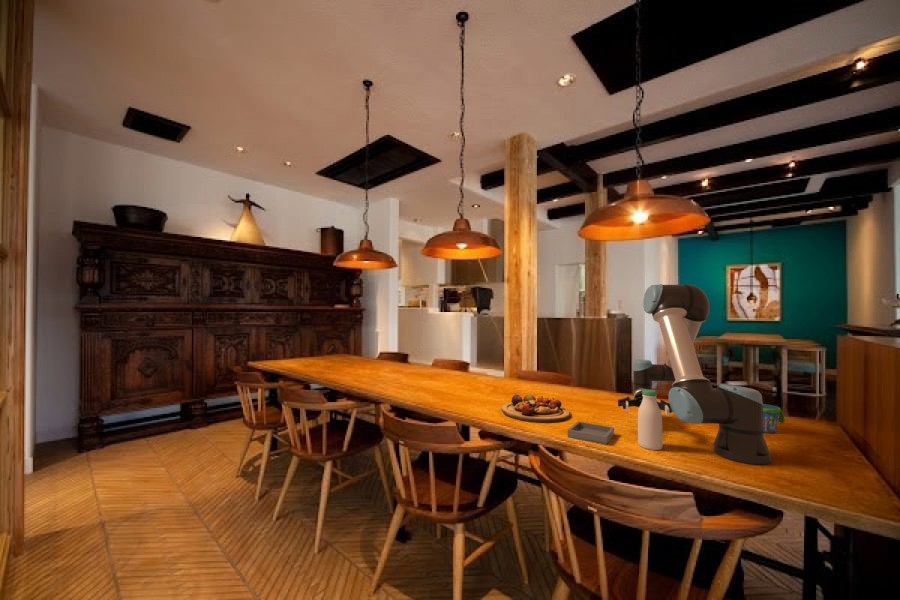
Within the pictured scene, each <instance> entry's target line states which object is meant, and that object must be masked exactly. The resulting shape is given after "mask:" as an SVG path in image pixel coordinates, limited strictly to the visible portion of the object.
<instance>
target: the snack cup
mask: <svg viewBox="0 0 900 600" xmlns="http://www.w3.org/2000/svg"><path fill="white" fill-rule="evenodd" d="M785 421H786V420H785V415H784V412H783V410H782V409H781V407H779V406H777V405H772V404H771V405H770V404H766V403H763V433H767V434H771V433H773V432H774V433H776V432H777V429H778V423H781V424H784V423H785ZM774 433H773V434H774Z"/></svg>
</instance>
